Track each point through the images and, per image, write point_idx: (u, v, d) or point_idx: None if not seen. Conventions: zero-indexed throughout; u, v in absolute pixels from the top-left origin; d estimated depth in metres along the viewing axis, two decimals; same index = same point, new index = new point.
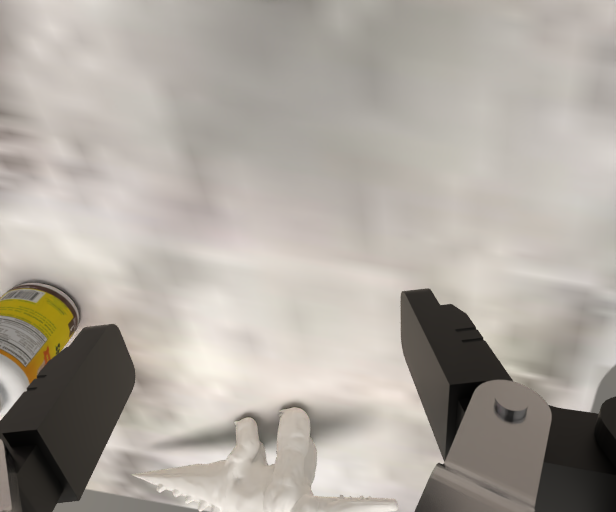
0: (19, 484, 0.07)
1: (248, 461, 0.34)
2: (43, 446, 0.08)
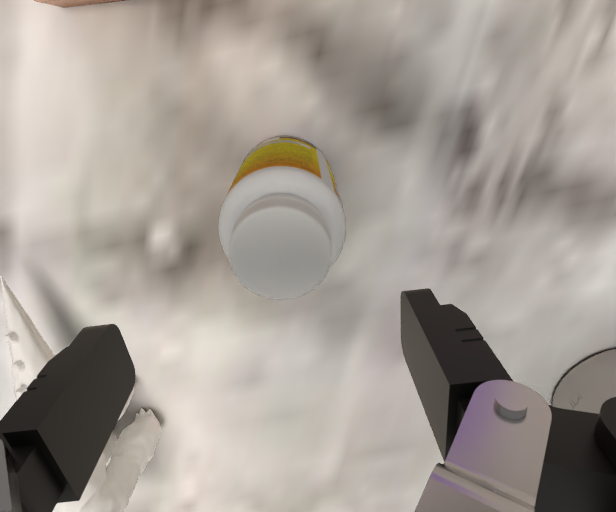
0: (19, 484, 0.07)
1: None
2: (43, 446, 0.08)
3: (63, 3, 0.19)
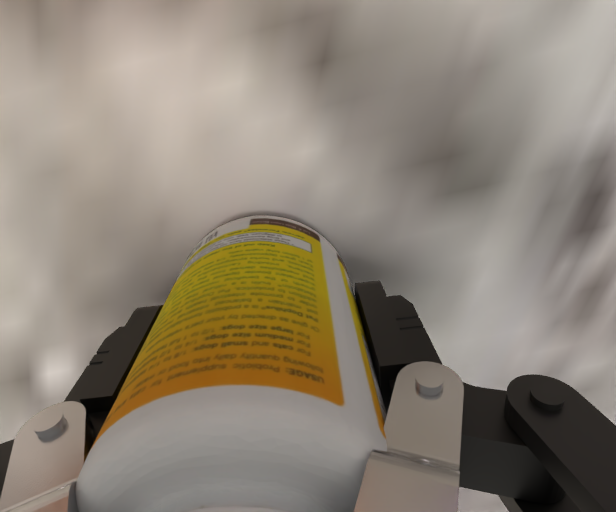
0: None
1: None
2: None
3: None
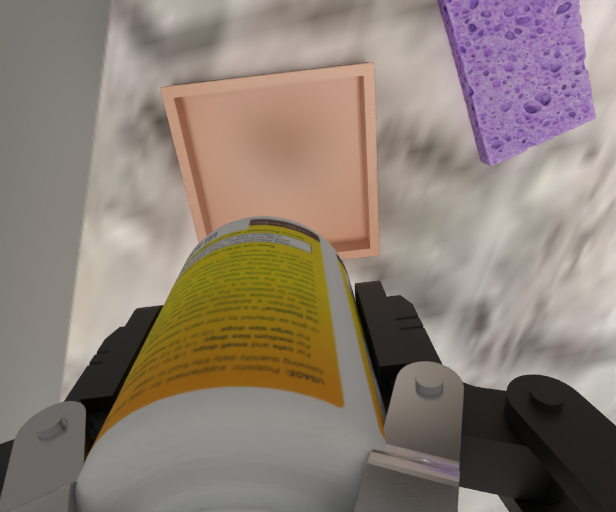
0: None
1: None
2: None
3: None
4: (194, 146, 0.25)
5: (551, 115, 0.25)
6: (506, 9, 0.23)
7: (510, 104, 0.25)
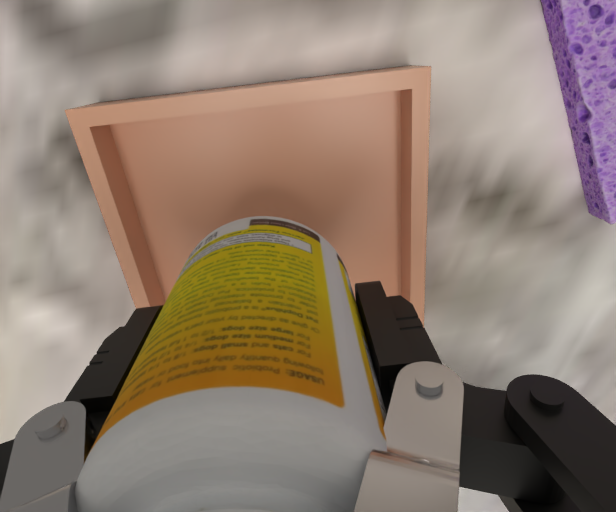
0: None
1: None
2: None
3: None
4: (136, 198, 0.16)
5: None
6: None
7: None
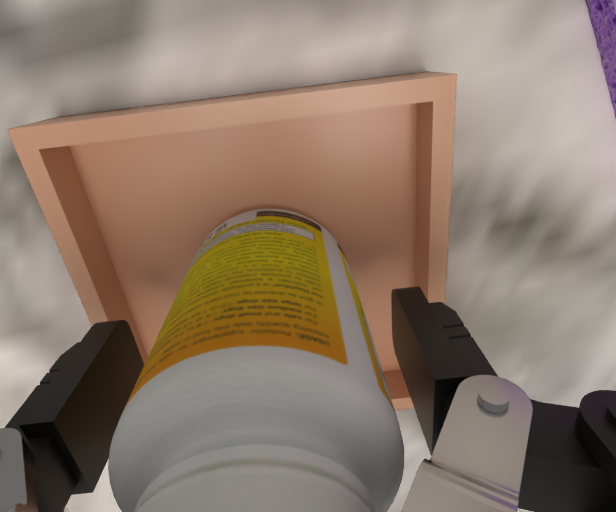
0: (36, 474, 0.07)
1: None
2: (58, 438, 0.08)
3: None
4: (104, 229, 0.14)
5: None
6: None
7: None
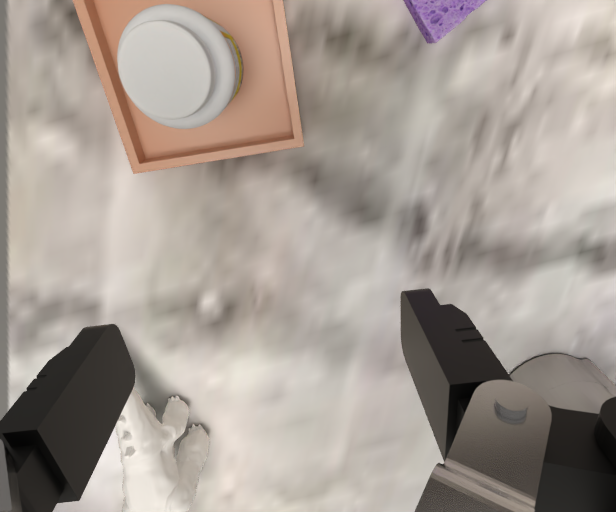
0: (19, 484, 0.07)
1: (173, 443, 0.37)
2: (43, 446, 0.08)
3: None
4: (107, 36, 0.25)
5: None
6: None
7: None
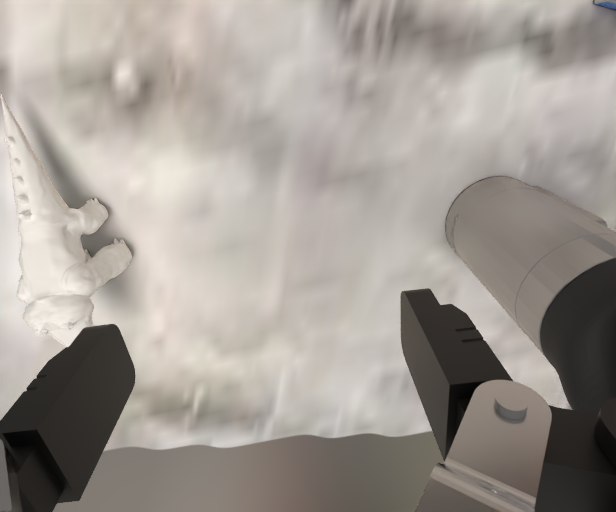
0: (19, 484, 0.07)
1: (82, 231, 0.35)
2: (43, 446, 0.08)
3: None
4: None
5: None
6: None
7: None
